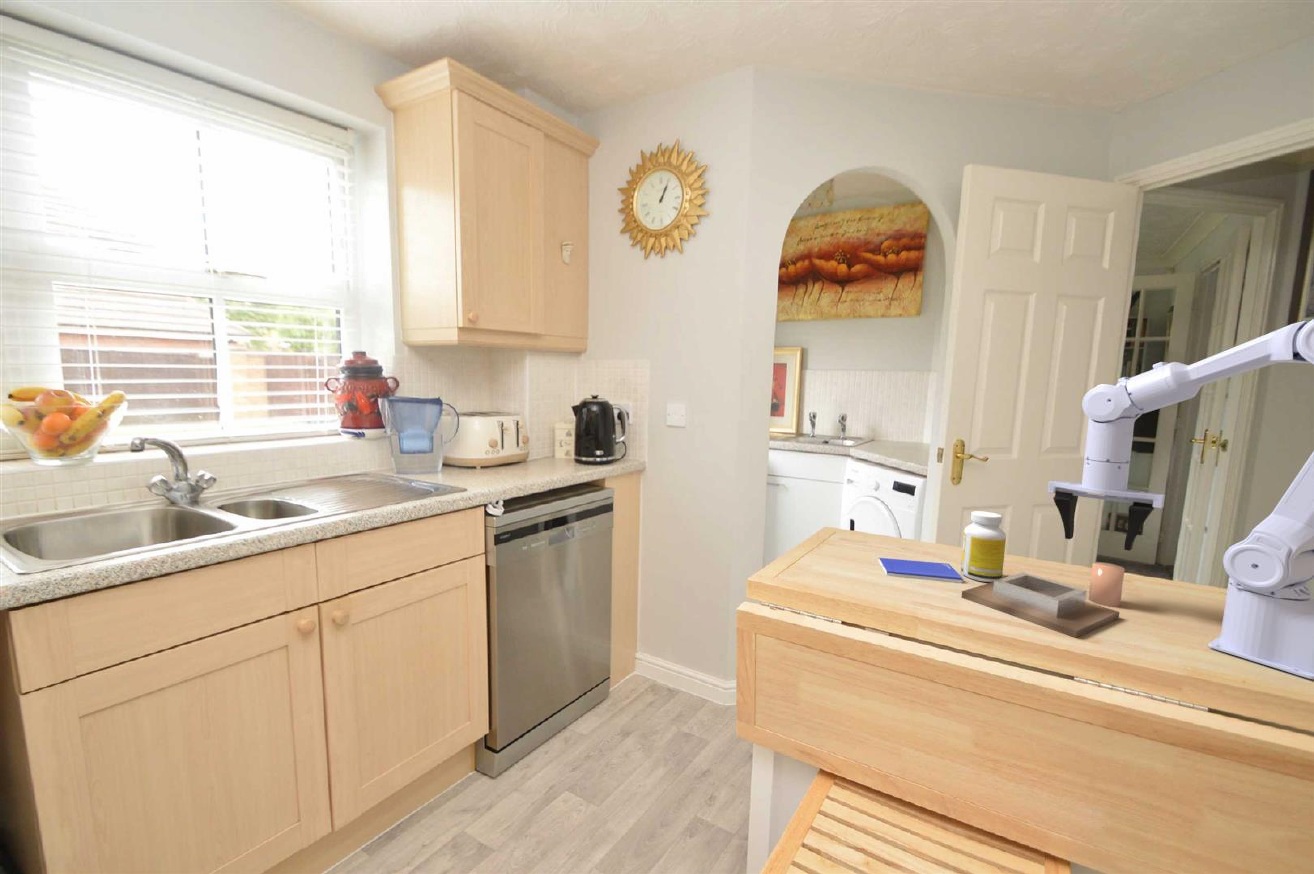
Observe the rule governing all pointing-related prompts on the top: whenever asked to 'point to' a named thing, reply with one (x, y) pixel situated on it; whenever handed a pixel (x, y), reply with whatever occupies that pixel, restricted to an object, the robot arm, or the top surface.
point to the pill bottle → (983, 547)
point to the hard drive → (920, 570)
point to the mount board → (1067, 624)
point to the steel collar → (1040, 594)
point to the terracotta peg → (1106, 584)
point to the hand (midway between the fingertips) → (1097, 543)
